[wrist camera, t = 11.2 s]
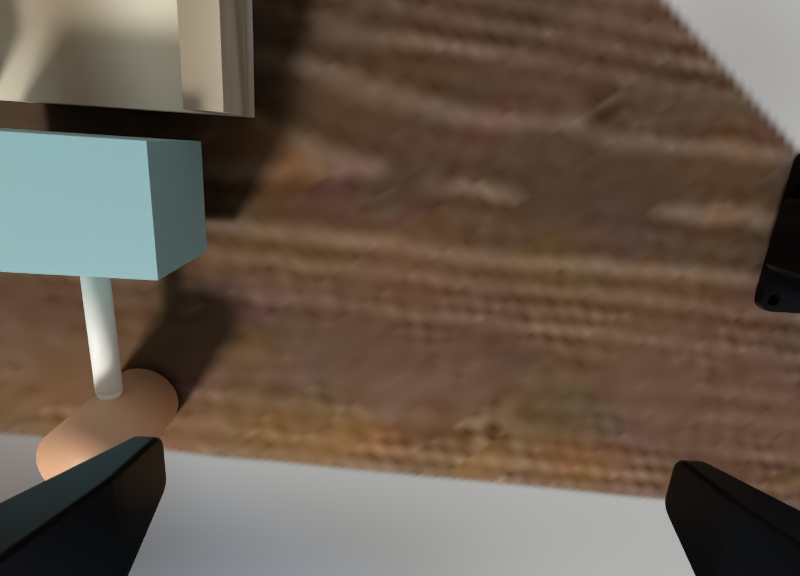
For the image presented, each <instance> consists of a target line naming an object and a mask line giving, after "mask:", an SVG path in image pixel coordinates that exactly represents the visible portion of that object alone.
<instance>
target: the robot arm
mask: <svg viewBox="0 0 800 576" xmlns="http://www.w3.org/2000/svg"><path fill="white" fill-rule="evenodd" d="M771 295H773V296H772V299H771V300H770V301H769V302H768V298H769V297H770V296H771ZM755 303H756V305H757V306H758V307H760V308H762V309H764V310H767V311H771V312H789V313H800V153H799V155H798V156H797V157H796V159H795V161H794V164H793V168H792V171H791V175H790V178H789V181H788V185H787V188H786V192H785V195H784V199H783V202H782V205H781V209H780V212H779V216H778V219H777V222H776V226H775V229H774V233H773V236H772V240H771V243H770V246H769V250H768V253H767V257H766V260H765V264H764V267H763V270H762V274H761V277H760V281H759V284H758V288H757V291H756V294H755ZM164 462H165V461H164V450H163V443H162V441H161V439H159V438H158V437H144V436H136V437H133V438H130V439H128V440H126V441H124V442H122V443H120V444H118V445H116V446H114V447H112V448H110V449H108V450H106V451H104V452H102V453H100V454H98V455H96V456H94V457H92V458H90V459H88V460H86V461H84V462H82V463H80V464H78V465H76V466H74V467H72V468H70V469H68V470H66V471H64V472H62V473H60V474H58V475H56V476H54V477H52V478H50V479H48V480H46V481H44V482H42V483H40V484H38V485H36V486H34V487H32V488H30V489H28V490H26V491H24V492H22V493H20V494H18V495H16V496H14V497H12V498H10V499H8V500H6V501H4V502H2V503H0V576H128V574H129V572H130V570H131V568H132V565H133V563H134V560H135V558H136V556H137V554H138V551H139V549H140V546H141V544H142V542H143V539H144V537H145V535H146V532H147V530H148V528H149V525H150V523H151V521H152V518H153V516H154V514H155V511H156V509H157V507H158V504H159V502H160V499H161V497H162V495H163V492H164V489H165V484H166V472H165V463H164ZM665 505H666V510H667V513H668V516H669V518H670V520H671V522H672V525H673V527H674V529H675V531H676V534H677V536H678V538H679V540H680V542H681V545H682V547H683V549H684V551H685V553H686V556H687V558H688V560H689V562H690V564H691V567H692V569H693V571H694V573H695V575H696V576H800V511H799V510H797V509H795V508H793V507H791V506H789V505H787V504H785V503H783V502H781V501H779V500H777V499H776V498H774V497H772V496H770V495H768V494H766V493H764V492H762V491H760V490H758V489H756V488H754V487H752V486H750V485H748V484H746V483H744V482H742V481H740V480H738V479H736V478H734V477H733V476H731V475H729V474H727V473H725V472H723V471H721V470H719V469H717V468H715V467H713V466H711V465H709V464H707V463H705V462H702V461H687V460H681V461H679V462H677V463H676V464H675V466H674V468H673V472H672V476H671V479H670V483H669V487H668V490H667V494H666V499H665Z"/></svg>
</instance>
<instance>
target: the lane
mask: <svg viewBox="0 0 800 576" xmlns="http://www.w3.org/2000/svg"><path fill="white" fill-rule="evenodd" d="M0 100H4V101H19V102H33V103H48V104H63V105H77V106H92V107H106V108H121V109H135V110H150V111H165V112H179V113H194V114H208V115H223V116H237V117H252V118H255V106H254V60H253V14H252V0H0Z"/></svg>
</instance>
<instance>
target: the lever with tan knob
mask: <svg viewBox="0 0 800 576" xmlns="http://www.w3.org/2000/svg"><path fill="white" fill-rule="evenodd" d="M205 252H207V243H206V224H205V205H204V186H203V167H202V148H201V141H188V140H173V139H158V138H143V137H128V136H113V135H98V134H83V133H68V132H53V131H38V130H23V129H8V128H0V272H16V273H34V274H52V275H70V276H80V281H81V289H82V296H83V304H84V311H85V319H86V326H87V334H88V341H89V349H90V356H91V364H92V372H93V379H94V387H95V393H96V394H95V395H94V396H92V397H91V398H90V399H89V400H88V401H87V402H85V403H84V404H83V405H82V406H81V407H80V408H78V409H77V410H76V411H75V412H74V413H72V414H71V415H70V416H69V417H68V418H67V419H65V420H64V421H63V422H62V423H61V424H60V425H58V426H57V427H56V428H55V429H54V430H53V431H51V432H50V433H49V434H48V435H47V436H45V437H44V439H43V440H42V441H41V443H40V444H39V446H38V449H37V454H36V461H37V466H38V469H39V471H40V473H41V475H42V477H43V478H44V479H45V481H46V480H48V479H50V478H52V477H54V476H56V475H58V474H60V473H62V472H64V471H66V470H68V469H70V468H72V467H74V466H76V465H78V464H80V463H82V462H84V461H86V460H88V459H90V458H92V457H94V456H96V455H98V454H100V453H102V452H104V451H106V450H108V449H110V448H112V447H114V446H116V445H118V444H120V443H122V442H124V441H126V440H128V439H130V438H133V437H136V436H144V437H159V436H160V435H161V433H162V432H163V431H164V430H165V428H166V427H167V426H168V425H169V423H170V422H171V421H172V419H173V418H174V417H175V415H176V413H177V410H178V397H177V394H176V391H175V389H174V388H173V386H172V385H171V383H170V382H169V381H168V380H167V379H166V378H164V377H163V376H161V375H160V374H158V373H156V372H154V371H151V370H147V369H140V368H139V369H130V370H126V371H124V372H122V373H121V366H120V358H119V349H118V340H117V331H116V322H115V314H114V305H113V296H112V287H111V279H110V278H124V279H142V280H160V279H161V278H163V277H165V276H166V275H168V274H170V273H171V272H173V271H175V270H176V269H178V268H180V267H181V266H183V265H185V264H187V263H188V262H190V261H192V260H193V259H195V258H197V257H198V256H200V255H202V254H203V253H205Z"/></svg>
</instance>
